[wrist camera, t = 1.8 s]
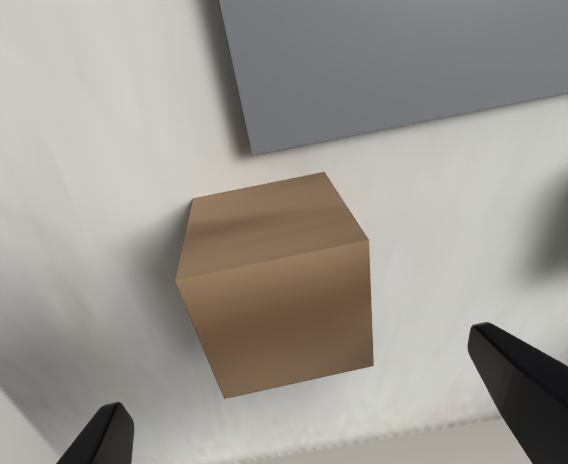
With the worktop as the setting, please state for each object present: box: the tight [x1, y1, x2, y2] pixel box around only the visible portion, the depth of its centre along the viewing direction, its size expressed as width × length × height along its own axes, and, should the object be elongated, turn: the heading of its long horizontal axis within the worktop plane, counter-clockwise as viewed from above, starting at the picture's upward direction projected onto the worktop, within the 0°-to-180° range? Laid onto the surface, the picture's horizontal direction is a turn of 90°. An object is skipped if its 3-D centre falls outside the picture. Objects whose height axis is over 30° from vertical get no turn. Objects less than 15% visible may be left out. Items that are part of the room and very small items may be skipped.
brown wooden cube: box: [175, 172, 374, 399], centre depth 12 cm, size 5×5×5 cm
